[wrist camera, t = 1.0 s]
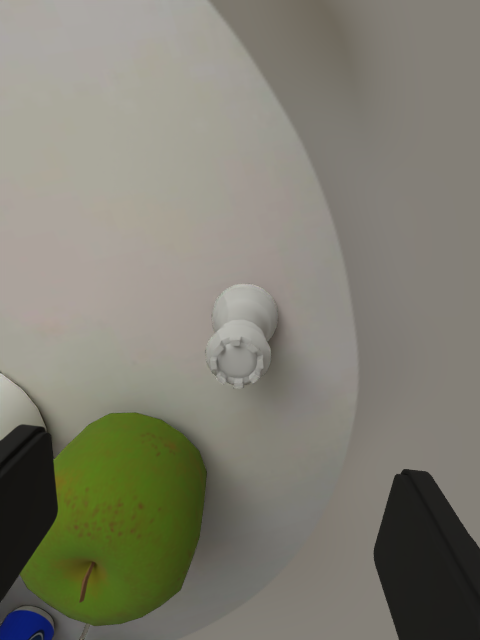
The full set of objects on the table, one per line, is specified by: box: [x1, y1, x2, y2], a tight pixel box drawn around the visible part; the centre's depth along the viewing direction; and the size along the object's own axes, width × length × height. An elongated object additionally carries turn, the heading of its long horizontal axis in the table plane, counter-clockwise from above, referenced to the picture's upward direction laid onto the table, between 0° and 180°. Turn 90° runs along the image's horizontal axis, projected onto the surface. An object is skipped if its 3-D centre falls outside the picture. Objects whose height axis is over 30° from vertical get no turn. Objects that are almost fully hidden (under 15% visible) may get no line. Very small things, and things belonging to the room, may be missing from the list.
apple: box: [20, 413, 207, 626], centre depth 23 cm, size 11×11×11 cm
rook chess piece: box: [205, 284, 278, 388], centre depth 20 cm, size 4×4×8 cm
